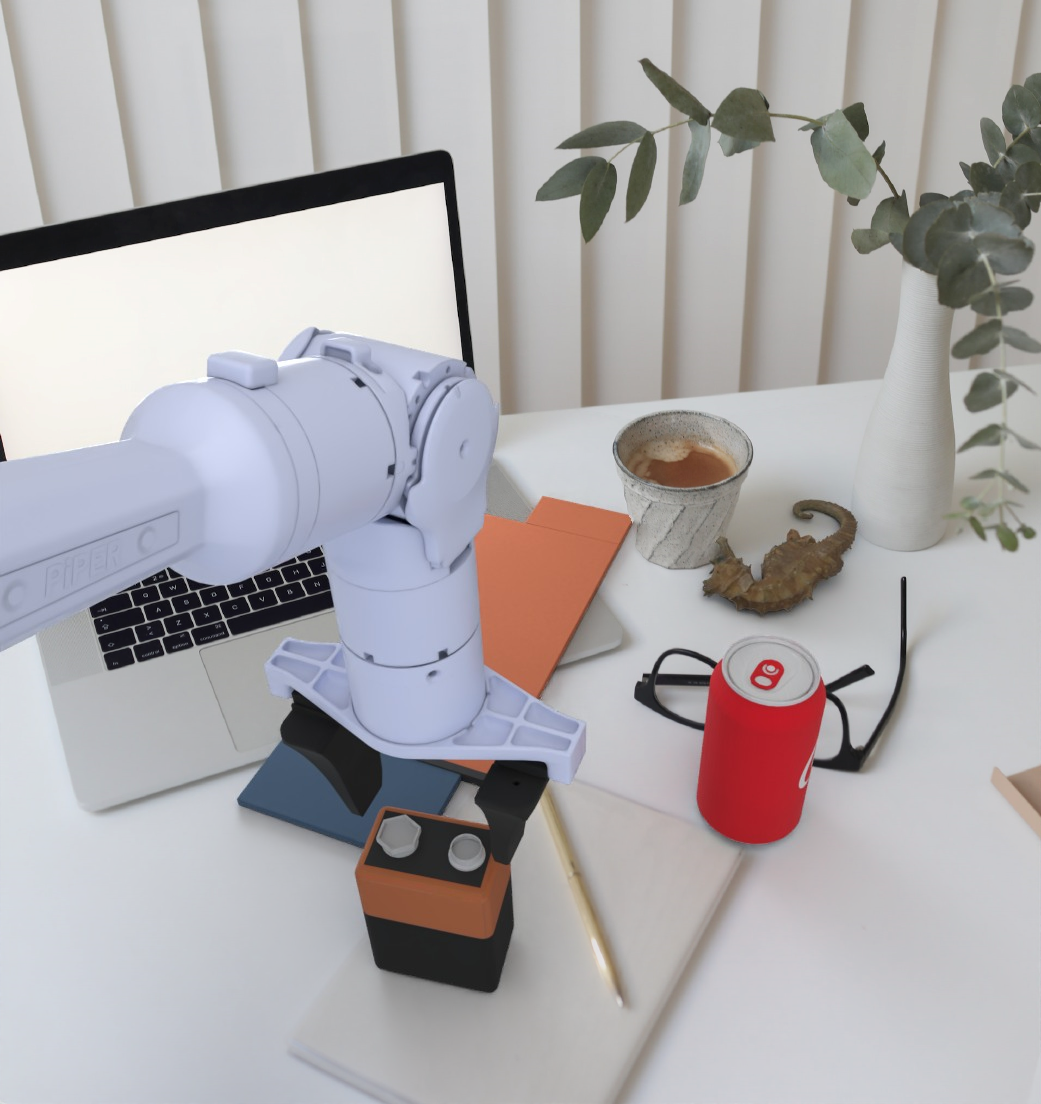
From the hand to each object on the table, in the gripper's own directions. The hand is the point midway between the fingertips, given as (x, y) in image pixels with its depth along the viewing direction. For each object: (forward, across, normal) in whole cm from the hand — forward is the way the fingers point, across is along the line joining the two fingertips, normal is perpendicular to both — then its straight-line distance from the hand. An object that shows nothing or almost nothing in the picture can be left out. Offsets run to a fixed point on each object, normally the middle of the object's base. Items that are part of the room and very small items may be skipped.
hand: (436, 822), depth 52 cm
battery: (+10, 0, +1) cm, 10 cm away
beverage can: (+11, -13, -14) cm, 22 cm away
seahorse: (+11, -10, -38) cm, 41 cm away
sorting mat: (+11, +9, -21) cm, 25 cm away
